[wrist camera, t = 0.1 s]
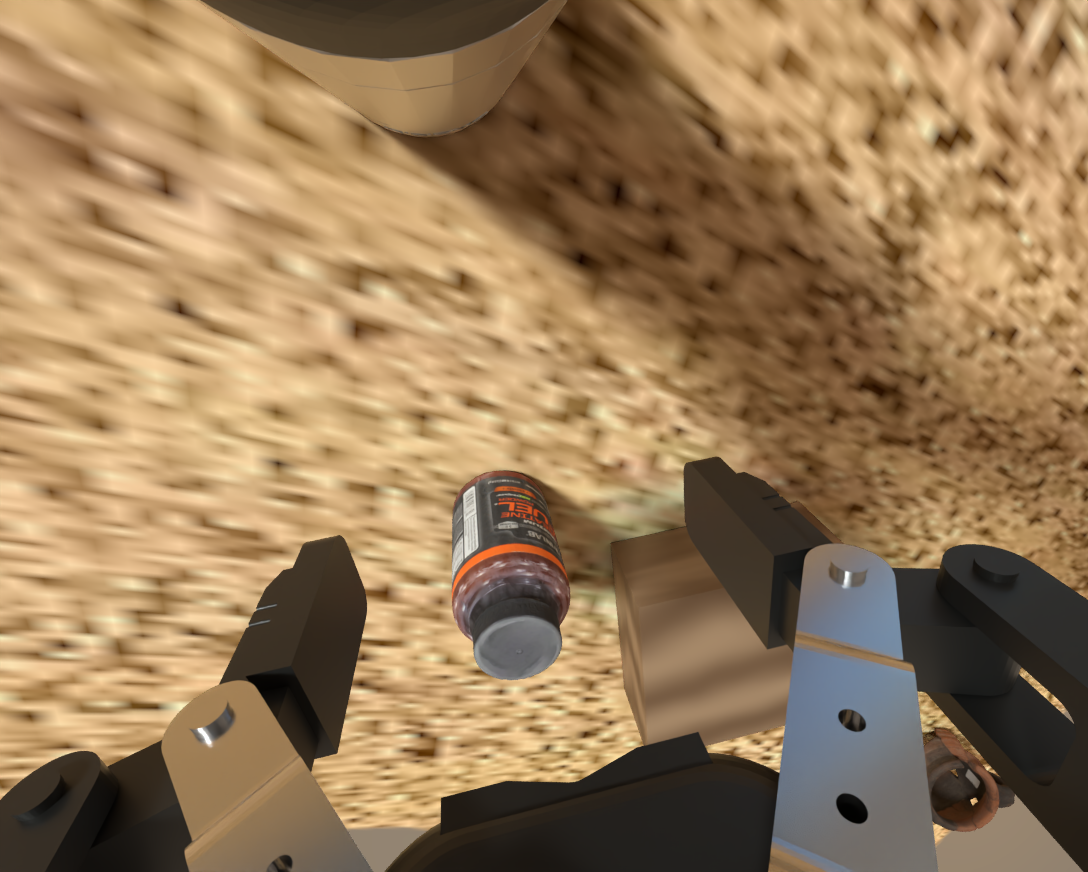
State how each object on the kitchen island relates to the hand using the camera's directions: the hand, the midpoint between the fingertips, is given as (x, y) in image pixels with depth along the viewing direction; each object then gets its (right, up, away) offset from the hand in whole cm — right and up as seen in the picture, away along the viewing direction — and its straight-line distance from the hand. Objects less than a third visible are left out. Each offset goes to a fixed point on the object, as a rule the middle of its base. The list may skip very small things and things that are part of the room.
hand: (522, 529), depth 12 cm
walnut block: (+13, -11, +28) cm, 33 cm away
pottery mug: (+44, -33, +45) cm, 71 cm away
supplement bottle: (-2, -2, +21) cm, 21 cm away
